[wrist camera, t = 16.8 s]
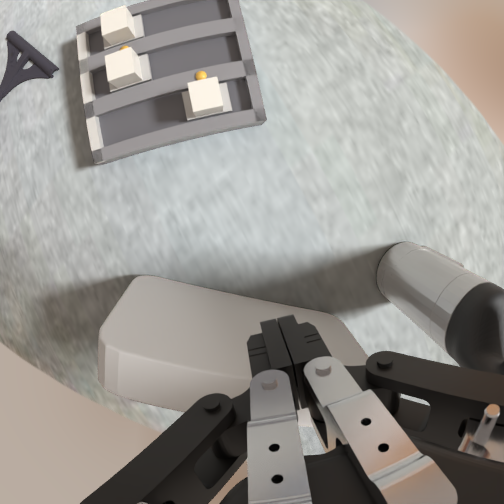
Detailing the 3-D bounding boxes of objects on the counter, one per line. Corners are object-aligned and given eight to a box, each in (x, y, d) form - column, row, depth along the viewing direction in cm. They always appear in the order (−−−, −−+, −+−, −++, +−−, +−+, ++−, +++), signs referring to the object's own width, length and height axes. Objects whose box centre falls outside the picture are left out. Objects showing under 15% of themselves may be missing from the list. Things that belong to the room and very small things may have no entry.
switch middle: (148, 55, 30) (139, 43, 25) (152, 80, 31) (144, 70, 26) (108, 68, 29) (96, 58, 25) (112, 93, 30) (99, 85, 26)
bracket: (-33, 108, 30) (-43, 107, 27) (16, 32, 28) (7, 27, 25) (6, 154, 34) (-5, 154, 31) (61, 69, 32) (52, 65, 29)
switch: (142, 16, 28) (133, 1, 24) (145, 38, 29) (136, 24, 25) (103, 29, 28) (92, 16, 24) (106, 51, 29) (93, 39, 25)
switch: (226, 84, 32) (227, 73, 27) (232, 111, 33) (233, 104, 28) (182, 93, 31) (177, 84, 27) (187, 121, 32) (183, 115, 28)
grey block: (131, 320, 42) (91, 405, 24) (138, 271, 40) (89, 342, 23) (320, 356, 46) (361, 440, 29) (337, 314, 44) (393, 390, 27)
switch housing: (232, -3, 31) (233, -18, 27) (261, 124, 36) (267, 119, 32) (87, 36, 30) (75, 25, 26) (106, 163, 36) (93, 163, 31)
